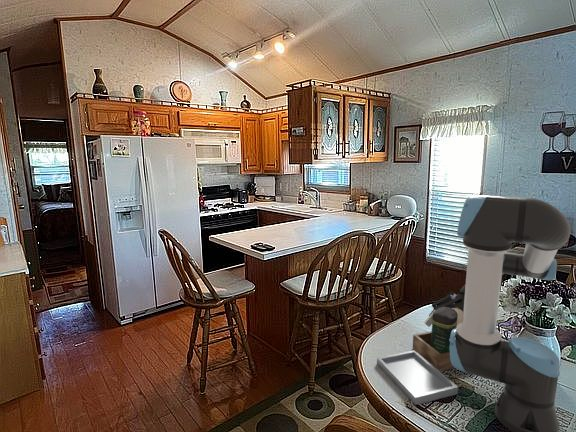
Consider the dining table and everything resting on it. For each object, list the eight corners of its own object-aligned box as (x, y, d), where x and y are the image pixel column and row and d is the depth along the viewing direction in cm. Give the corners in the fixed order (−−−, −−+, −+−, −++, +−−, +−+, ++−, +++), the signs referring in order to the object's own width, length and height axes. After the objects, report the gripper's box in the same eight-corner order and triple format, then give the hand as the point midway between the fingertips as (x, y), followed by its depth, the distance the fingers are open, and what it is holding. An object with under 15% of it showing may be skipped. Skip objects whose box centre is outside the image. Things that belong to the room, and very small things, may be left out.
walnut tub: (473, 363, 128) (474, 348, 127) (439, 371, 123) (440, 355, 122) (444, 342, 142) (445, 328, 141) (412, 348, 138) (413, 334, 136)
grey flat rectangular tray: (457, 394, 112) (458, 387, 112) (414, 404, 107) (415, 397, 107) (414, 356, 133) (414, 350, 132) (376, 363, 128) (377, 357, 128)
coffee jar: (448, 365, 127) (452, 318, 123) (426, 357, 132) (429, 311, 128) (457, 354, 134) (461, 308, 130) (436, 346, 139) (439, 302, 135)
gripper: (508, 309, 121) (469, 357, 120) (455, 284, 145) (422, 323, 143) (498, 297, 119) (458, 345, 117) (445, 273, 142) (411, 313, 141)
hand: (438, 333), depth 130 cm, fingers open, 13 cm apart
